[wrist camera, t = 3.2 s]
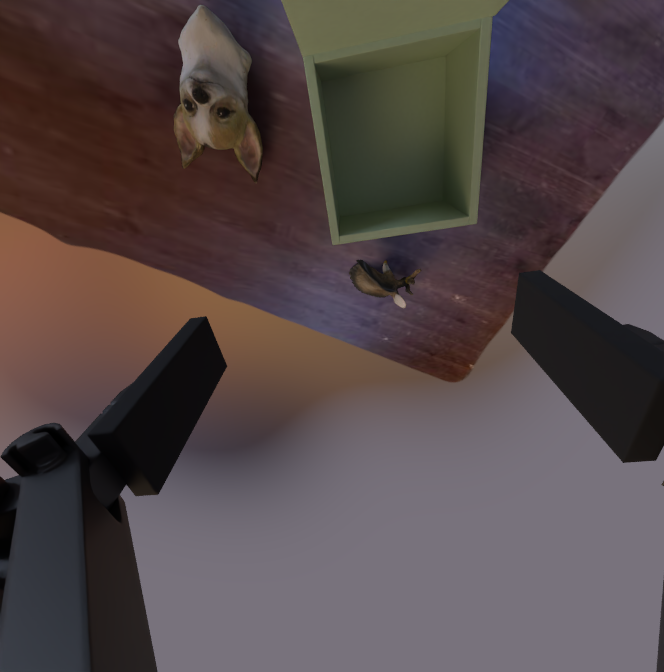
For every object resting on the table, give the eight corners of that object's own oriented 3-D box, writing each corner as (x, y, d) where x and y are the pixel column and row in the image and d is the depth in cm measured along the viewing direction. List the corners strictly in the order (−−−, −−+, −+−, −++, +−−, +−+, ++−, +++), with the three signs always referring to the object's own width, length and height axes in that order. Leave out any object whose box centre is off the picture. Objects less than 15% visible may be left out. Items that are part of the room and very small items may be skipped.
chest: (447, 205, 44) (477, 223, 34) (334, 222, 46) (332, 245, 36) (452, 45, 36) (493, 10, 26) (312, 74, 37) (302, 52, 28)
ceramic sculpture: (255, 13, 28) (249, 193, 37) (274, 33, 35) (266, 180, 44) (131, -17, 27) (155, 174, 36) (176, 10, 35) (187, 164, 43)
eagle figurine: (416, 246, 46) (355, 244, 45) (426, 288, 43) (361, 287, 42) (398, 277, 53) (345, 276, 51) (406, 315, 50) (350, 315, 48)
